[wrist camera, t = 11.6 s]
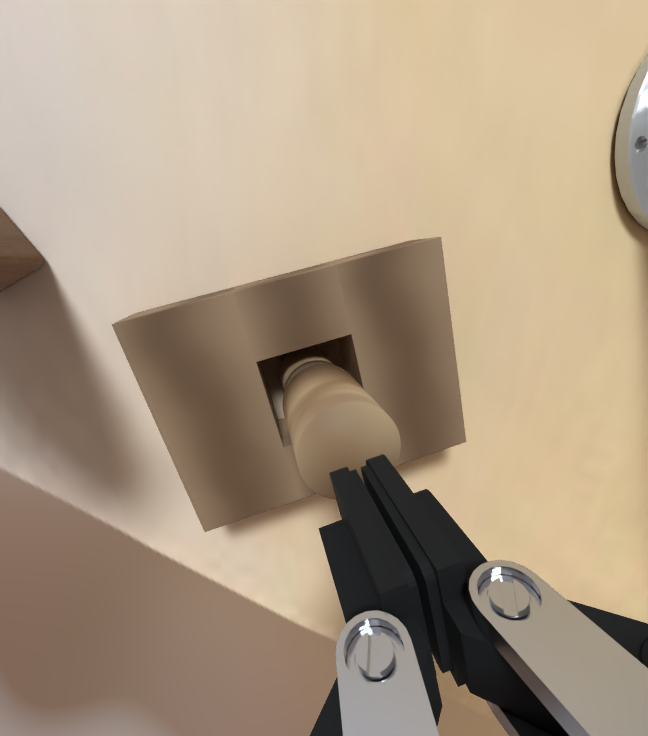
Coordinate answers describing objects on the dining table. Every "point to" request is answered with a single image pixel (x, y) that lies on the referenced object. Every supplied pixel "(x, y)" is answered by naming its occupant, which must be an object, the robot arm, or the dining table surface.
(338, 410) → the peg
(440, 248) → the board
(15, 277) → the brown jointed angular part
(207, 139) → the dining table surface
